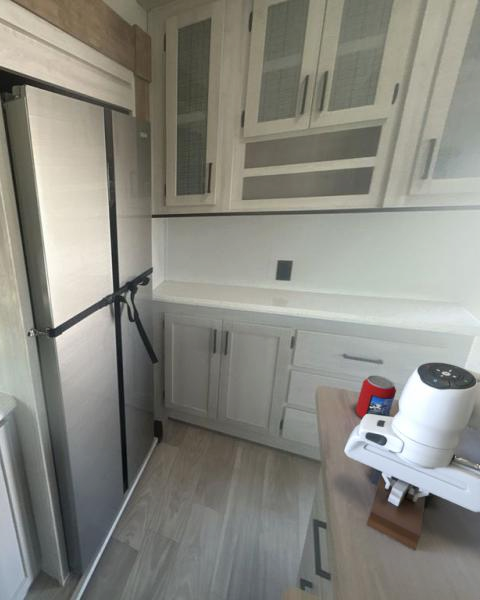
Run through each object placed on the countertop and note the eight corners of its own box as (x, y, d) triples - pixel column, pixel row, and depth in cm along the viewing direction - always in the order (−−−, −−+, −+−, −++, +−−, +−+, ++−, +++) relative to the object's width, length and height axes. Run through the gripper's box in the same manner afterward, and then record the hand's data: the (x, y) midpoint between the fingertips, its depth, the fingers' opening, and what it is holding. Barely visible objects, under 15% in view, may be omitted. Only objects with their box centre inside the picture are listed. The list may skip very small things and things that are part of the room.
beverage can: (374, 427, 89) (385, 391, 84) (349, 411, 95) (358, 377, 91) (392, 421, 90) (404, 385, 86) (367, 405, 96) (376, 371, 92)
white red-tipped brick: (397, 506, 66) (403, 491, 64) (387, 500, 67) (392, 486, 65) (413, 485, 69) (418, 470, 68) (403, 480, 71) (408, 465, 69)
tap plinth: (414, 550, 62) (420, 536, 61) (366, 524, 67) (371, 511, 66) (419, 508, 69) (425, 495, 67) (375, 488, 74) (380, 475, 72)
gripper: (504, 462, 58) (476, 515, 63) (356, 410, 72) (343, 457, 77) (506, 486, 54) (476, 541, 59) (350, 426, 68) (336, 474, 73)
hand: (400, 493), depth 68 cm, fingers closed on white red-tipped brick, 2 cm apart
